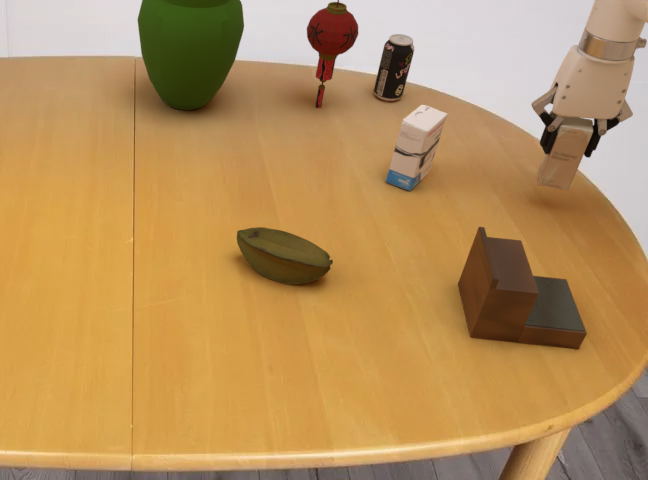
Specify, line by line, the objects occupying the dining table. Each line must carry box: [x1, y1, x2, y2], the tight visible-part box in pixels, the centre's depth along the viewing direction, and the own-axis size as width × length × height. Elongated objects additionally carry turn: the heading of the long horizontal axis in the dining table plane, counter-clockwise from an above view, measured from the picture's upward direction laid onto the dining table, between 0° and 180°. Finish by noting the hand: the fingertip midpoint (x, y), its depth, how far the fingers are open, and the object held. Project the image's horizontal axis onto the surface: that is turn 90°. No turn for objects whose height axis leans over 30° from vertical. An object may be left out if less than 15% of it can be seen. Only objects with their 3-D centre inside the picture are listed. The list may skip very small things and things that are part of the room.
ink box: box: [385, 104, 448, 192], centre depth 149 cm, size 8×5×12 cm, turn 143°
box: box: [536, 116, 594, 192], centre depth 142 cm, size 5×4×11 cm
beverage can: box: [373, 33, 415, 102], centre depth 171 cm, size 6×6×12 cm
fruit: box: [236, 226, 334, 286], centre depth 130 cm, size 11×12×7 cm
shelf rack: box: [457, 226, 588, 350], centre depth 123 cm, size 15×12×11 cm
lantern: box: [306, 0, 359, 109], centre depth 161 cm, size 10×10×30 cm
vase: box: [137, 0, 245, 111], centre depth 162 cm, size 20×20×24 cm
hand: (565, 150), depth 142 cm, fingers closed on box, 5 cm apart
